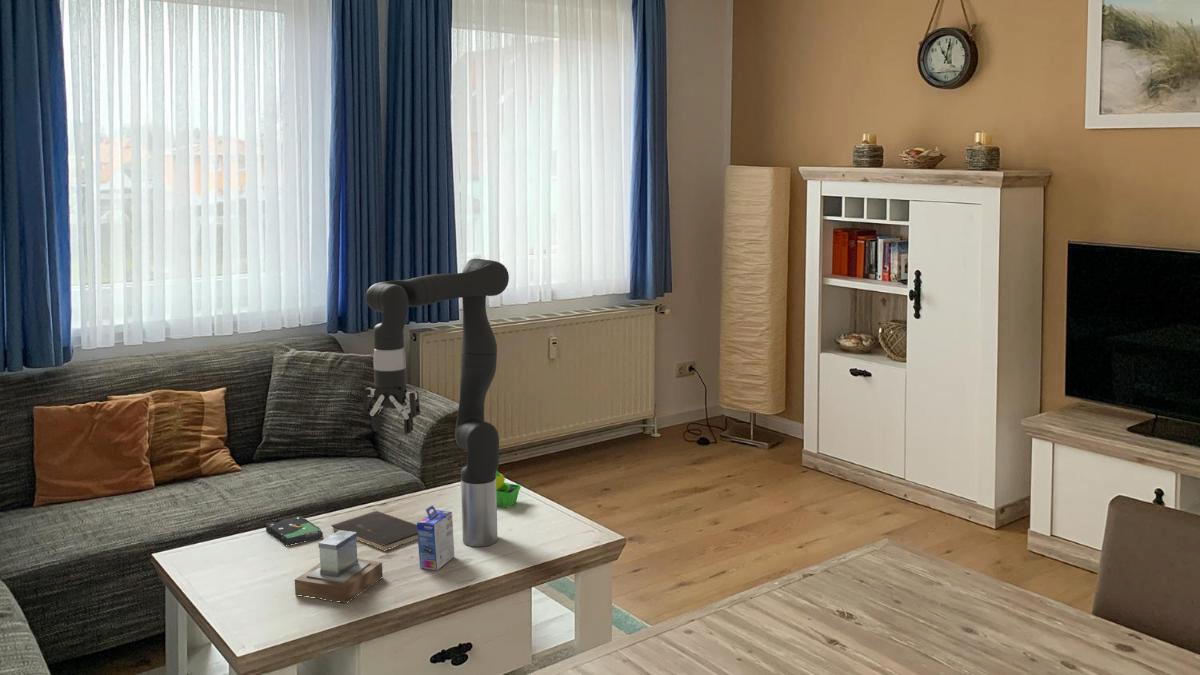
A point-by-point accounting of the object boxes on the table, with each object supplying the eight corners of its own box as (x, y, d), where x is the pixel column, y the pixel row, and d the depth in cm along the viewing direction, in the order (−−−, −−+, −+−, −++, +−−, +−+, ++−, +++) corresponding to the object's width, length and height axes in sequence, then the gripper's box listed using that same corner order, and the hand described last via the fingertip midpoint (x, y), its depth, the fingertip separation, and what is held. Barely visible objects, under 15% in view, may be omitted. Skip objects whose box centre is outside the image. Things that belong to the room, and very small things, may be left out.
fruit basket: (522, 501, 321) (521, 464, 319) (507, 510, 313) (507, 473, 311) (488, 496, 325) (487, 460, 323) (473, 505, 317) (472, 468, 315)
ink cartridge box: (436, 554, 280) (434, 500, 278) (455, 556, 279) (453, 502, 276) (417, 568, 271) (415, 513, 269) (437, 571, 269) (435, 515, 267)
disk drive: (265, 533, 297) (287, 548, 286) (264, 523, 297) (287, 538, 286) (300, 524, 304) (324, 538, 292) (300, 515, 303) (323, 528, 292)
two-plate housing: (320, 574, 256) (318, 542, 255) (341, 561, 264) (339, 529, 263) (337, 577, 255) (336, 545, 253) (358, 563, 263) (356, 532, 261)
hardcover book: (384, 553, 282) (383, 545, 282) (331, 533, 297) (331, 525, 297) (431, 536, 294) (431, 528, 294) (378, 517, 309) (378, 510, 309)
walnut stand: (333, 570, 270) (332, 553, 269) (382, 577, 266) (381, 560, 265) (295, 595, 255) (294, 578, 254) (346, 603, 251) (346, 585, 250)
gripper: (423, 365, 260) (426, 430, 263) (372, 361, 265) (374, 425, 268) (408, 371, 253) (410, 438, 256) (355, 367, 258) (358, 433, 261)
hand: (392, 431), depth 262 cm, fingers open, 8 cm apart
